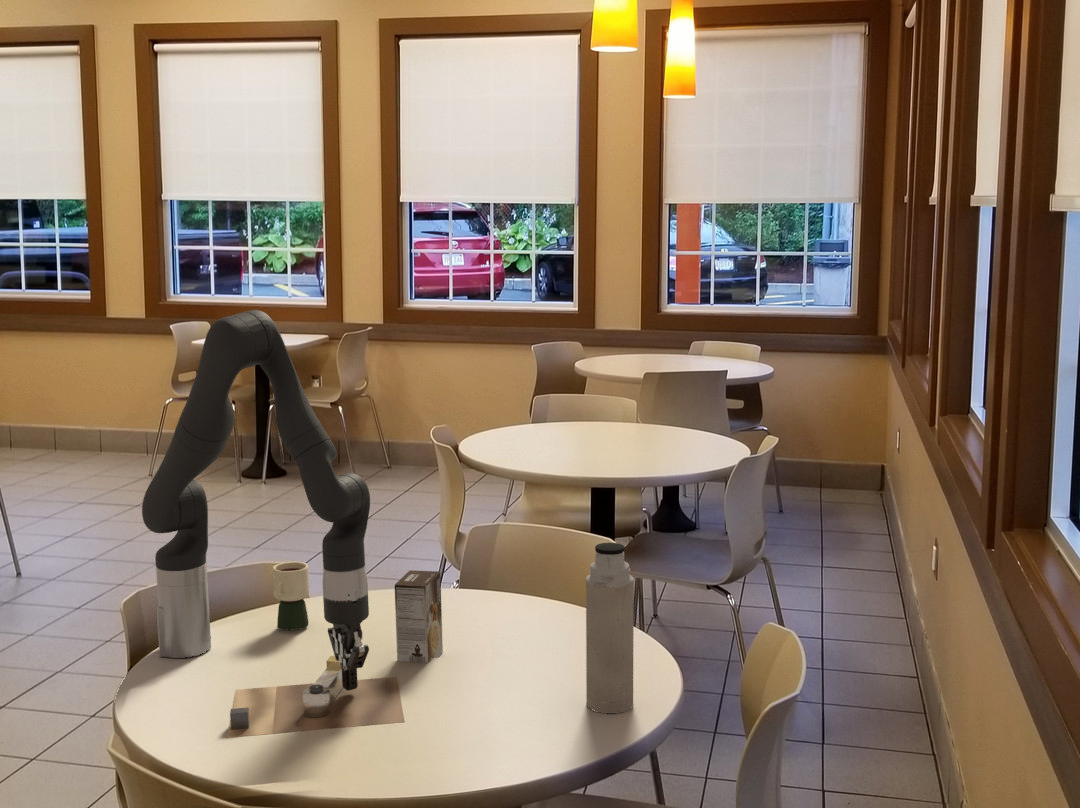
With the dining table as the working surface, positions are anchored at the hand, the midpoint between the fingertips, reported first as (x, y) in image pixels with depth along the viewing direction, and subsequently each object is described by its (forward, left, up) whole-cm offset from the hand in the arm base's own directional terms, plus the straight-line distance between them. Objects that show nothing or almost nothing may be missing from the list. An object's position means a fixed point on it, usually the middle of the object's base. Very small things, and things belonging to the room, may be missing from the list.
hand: (350, 688), depth 198 cm
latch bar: (-4, -2, -1) cm, 4 cm away
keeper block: (-18, -9, -1) cm, 20 cm away
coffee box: (+13, +17, -3) cm, 21 cm away
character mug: (-11, +39, -3) cm, 40 cm away
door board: (-6, -3, -2) cm, 7 cm away
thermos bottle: (+43, -10, -3) cm, 45 cm away
